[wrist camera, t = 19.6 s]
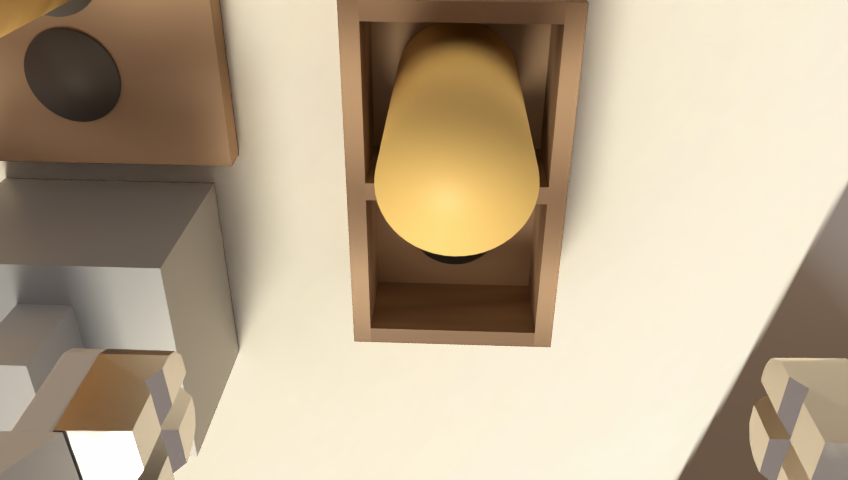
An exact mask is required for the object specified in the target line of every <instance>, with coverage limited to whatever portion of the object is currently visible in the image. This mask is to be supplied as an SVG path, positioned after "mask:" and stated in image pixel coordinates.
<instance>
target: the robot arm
mask: <svg viewBox="0 0 848 480" xmlns="http://www.w3.org/2000/svg"><path fill="white" fill-rule="evenodd" d="M185 375H186V370H185V366H184V363H183V359H182V356H181V354H179V353H177V352H176V351H161V350H132V349H106V350H105V349H85V348H72V349H70V350H68V351H67V352H65V353H64V354H63V355H62V356H61V357H60V359H59V360H58V362H57V363H56V365H55V366H54V368H53V369H52V371H51V372H50V374H49V375H48V377H47V378H46V380H45V381H44V383H43V384H42V386H41V387H40V389H39V390H38V392H37V393H36V395H35V396H34V398H33V399H32V401H31V402H30V404H29V405H28V407H27V408H26V410H25V411H24V413H23V414H22V416H21V417H20V419H19V420H18V422H17V423H16V425H15V426H14V428H13V429H12V431H0V480H174V476H173V473H174V472H175V471H177V470H178V469H179V468H180V467H182V466H183V465H184V464H185V463H187V460H188V457H189V455H190V452H191V449H192V446H193V440H194V433H195V427H196V422H195V408H194V403H193V399H192V396H191V395H190V394H188V393H187V392H186V391H185V390H184V389H183V388H182V387H181V384H182V382H183V380H184V377H185ZM761 381H762V383H763V385H764V387H765V389H766V392H767V394H766V395H765V396H764V397H762V398H761V399H760V400H759V401H758V402H756V403H755V404H754V407H753V411H752V415H751V419H750V445H751V449H752V454H753V458H754V460H755V463H756V465H757V468H758V470H759V473H761V474H762V475H763V476H765V477H766V478H767V479H768V480H848V358H846V359H842V358H771V359H770V360H769V362H768V363H767V364H766V366H765V369H764V372H763V375H762V378H761Z"/></svg>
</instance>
